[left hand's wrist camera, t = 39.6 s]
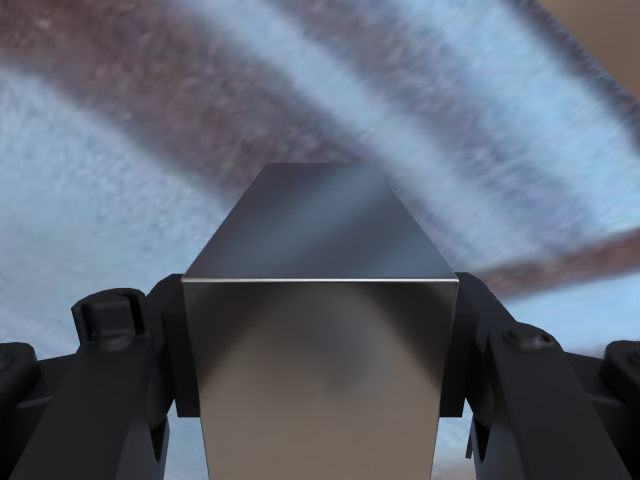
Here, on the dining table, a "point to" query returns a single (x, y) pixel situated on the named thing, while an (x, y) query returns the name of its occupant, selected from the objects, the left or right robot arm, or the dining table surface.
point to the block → (319, 330)
